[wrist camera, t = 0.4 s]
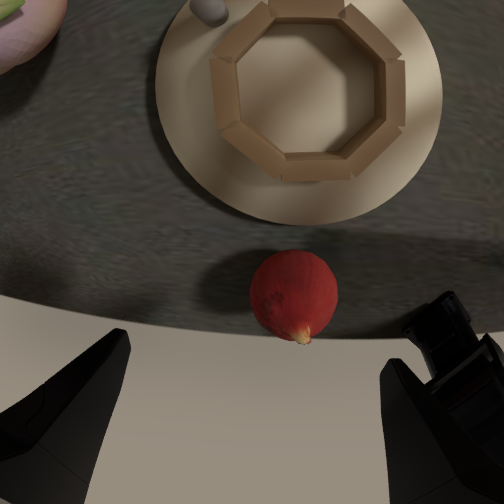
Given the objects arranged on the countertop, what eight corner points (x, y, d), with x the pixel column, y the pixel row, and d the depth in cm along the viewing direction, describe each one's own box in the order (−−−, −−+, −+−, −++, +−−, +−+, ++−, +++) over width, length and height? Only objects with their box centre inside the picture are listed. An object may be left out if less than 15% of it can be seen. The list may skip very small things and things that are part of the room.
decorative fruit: (101, -44, 11) (13, -83, 2) (97, 50, 15) (-9, 50, 6) (9, 1, 11) (-79, 2, 2) (8, 84, 15) (-86, 112, 7)
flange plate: (473, 104, 15) (508, 114, 12) (308, 262, 23) (315, 298, 19) (287, -78, 10) (292, -107, 6) (112, 111, 17) (79, 122, 14)
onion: (262, 298, 25) (260, 378, 18) (242, 238, 22) (232, 316, 15) (332, 284, 24) (351, 362, 17) (321, 221, 21) (346, 294, 14)
